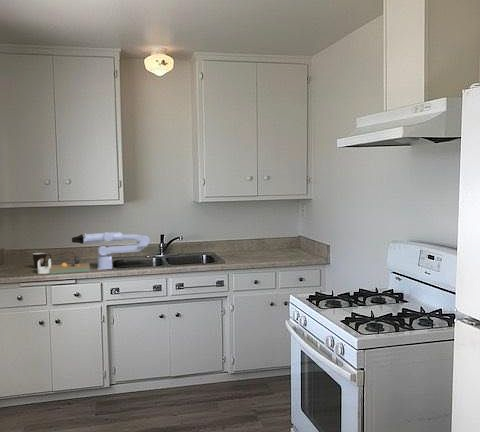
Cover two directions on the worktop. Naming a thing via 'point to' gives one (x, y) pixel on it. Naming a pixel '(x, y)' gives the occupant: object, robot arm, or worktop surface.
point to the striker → (76, 260)
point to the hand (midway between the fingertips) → (71, 240)
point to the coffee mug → (39, 257)
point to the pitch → (62, 268)
